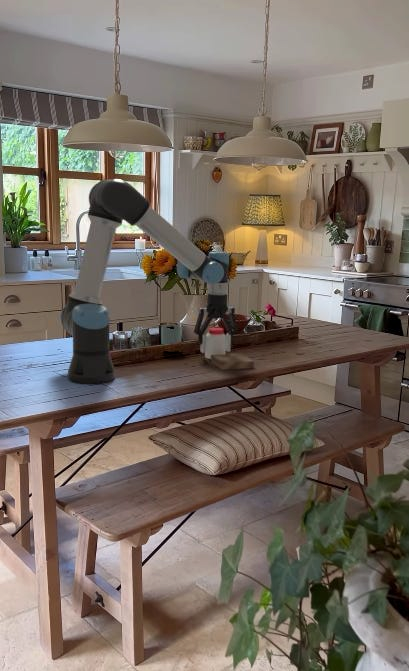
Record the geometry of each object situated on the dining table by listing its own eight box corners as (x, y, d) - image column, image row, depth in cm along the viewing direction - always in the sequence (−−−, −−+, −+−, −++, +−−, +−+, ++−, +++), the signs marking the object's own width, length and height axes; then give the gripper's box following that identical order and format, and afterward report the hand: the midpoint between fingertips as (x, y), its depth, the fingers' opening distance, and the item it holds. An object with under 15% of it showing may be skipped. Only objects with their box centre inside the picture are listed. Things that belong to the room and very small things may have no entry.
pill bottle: (221, 354, 238) (222, 326, 235) (228, 359, 230) (229, 330, 228) (202, 355, 235) (203, 327, 233) (208, 360, 228) (209, 331, 226)
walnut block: (222, 371, 215) (222, 363, 214) (210, 362, 226) (210, 355, 226) (253, 369, 219) (253, 361, 218) (240, 361, 230) (240, 353, 229)
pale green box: (178, 354, 235) (178, 329, 233) (158, 353, 236) (159, 327, 234) (182, 350, 242) (183, 325, 240) (164, 348, 244) (164, 324, 242)
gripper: (192, 295, 221) (190, 355, 225) (248, 294, 228) (246, 352, 233) (185, 292, 227) (184, 350, 232) (241, 291, 235) (238, 347, 240)
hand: (215, 351), depth 232 cm, fingers open, 10 cm apart
